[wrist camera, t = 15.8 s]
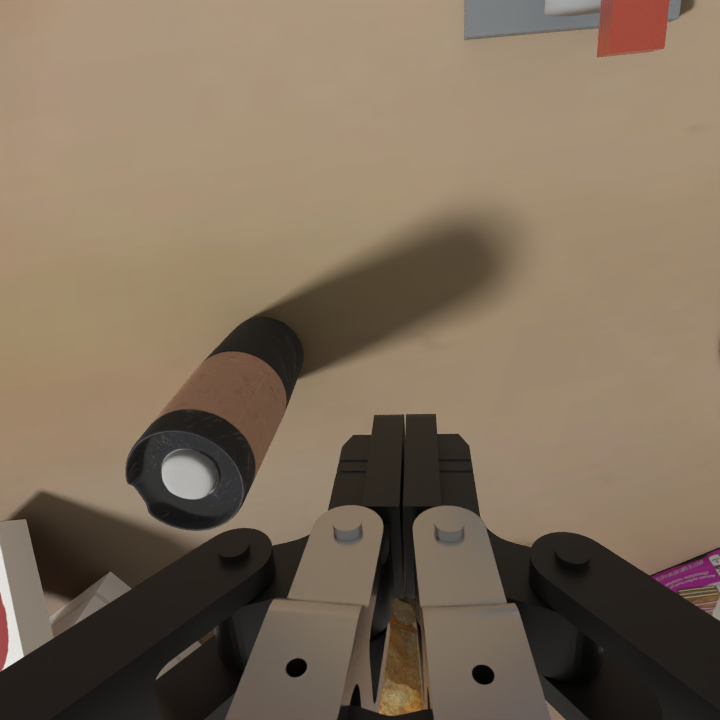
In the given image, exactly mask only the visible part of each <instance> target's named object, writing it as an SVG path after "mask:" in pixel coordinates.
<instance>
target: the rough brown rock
mask: <svg viewBox="0 0 720 720" xmlns="http://www.w3.org/2000/svg"><path fill="white" fill-rule="evenodd" d="M420 710H423V701H422V690H421V678H420V667H419V656H418V644H417V630H416V614H415V611H414V609H413V607H412V606H411V605H409V604H407V603H405V602H402V601H400V600H399V599H397V598H393V607H392V617H391V620H390V638H389V645H388V652H387V659H386V666H385V673H384V680H383V687H382V694H381V702H380V709H379V713H380V714H383V715H388V716H396V715H401V714H406V713H410V712H415V711H420Z"/></svg>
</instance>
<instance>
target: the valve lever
mask: <svg viewBox="0 0 720 720" xmlns="http://www.w3.org/2000/svg"><path fill="white" fill-rule="evenodd" d="M669 2H670V0H601V8H600V22H599V36H598V50H597V57H606V56H616V55H625V54H635V53H645V52H651V51H655V50H659V49H663V48H664V46H665V37H666V28H667V19H668V11H669Z"/></svg>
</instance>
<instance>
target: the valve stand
mask: <svg viewBox="0 0 720 720" xmlns="http://www.w3.org/2000/svg"><path fill="white" fill-rule="evenodd" d="M680 6H681V0H670V2H669V11H668V19H667V22H670V21H673V20H676V19H679V13H680ZM600 8H601V0H465V20H464V40H468V39H480V38H491V37H502V36H514V35H525V34H536V33H548V32H559V31H570V30H582V29H593V28H599V22H600Z"/></svg>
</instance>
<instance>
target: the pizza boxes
mask: <svg viewBox="0 0 720 720" xmlns="http://www.w3.org/2000/svg"><path fill="white" fill-rule="evenodd" d="M131 589H132V588H130V587H129V586H128V585H127V584H125V583H124V582H123V581H122V580H120V579H119V578H118V577H117V576H115V575H114V574H113V573H112V572H109V573H107V574H106V575H105V576H103V577H102V578H101V579H100V580H98V581H97V582H96V583H94V584H93V585H92V586H90V587H89V588H88V589H86V590H85V591H84V592H82V593H81V594H80V595H78V596H77V597H76V598H74V599H73V600H72V601H71V602H69V603H68V604H67V605H65V606H64V607H63V608H61V609H60V610H59V611H57V612H56V613H55V614H53V615H52V616H51V617H49V616H48V611H47V607H46V603H45V599H44V594H43V590H42V586H41V581H40V577H39V573H38V569H37V564H36V560H35V556H34V552H33V547H32V543H31V539H30V534H29V530H28V526H27V522H26V519H21V520H11V521H1V522H0V672H1V671H2V670H4V669H5V668H7V667H8V666H10V665H12V664H13V663H15V662H16V661H18V660H20V659H21V658H23V657H24V656H26V655H28V654H29V653H31V652H32V651H34V650H35V649H37V648H39V647H40V646H42V645H43V644H45V643H47V642H48V641H50V640H51V639H53V638H55V637H56V636H58V635H59V634H61V633H63V632H64V631H66V630H67V629H69V628H70V627H72V626H74V625H75V624H77V623H78V622H80V621H82V620H83V619H85V618H86V617H88V616H90V615H91V614H93V613H94V612H96V611H97V610H99V609H101V608H102V607H104V606H105V605H107V604H109V603H110V602H112V601H113V600H115V599H117V598H118V597H120V596H121V595H123V594H124V593H126V592H128V591H129V590H131ZM201 645H202V644H200V643H199V642H198V641H196V642H195V643H194V644H192V645H191V646H190V647H189V648H187V649H186V650H185V651H183V652H182V653H181V654H179V655H178V656H177V657H175V658H174V659H173V660H171V661H170V662H169V663H168V664H166V666H165V667H164V668H163V669H162V670H161V671H160V673H159V674H158V676H157V678H156V680H157V679H158V678H159V677H160V676H162V675H163V674H164V673H166V672H167V671H168V670H170V669H171V668H172V667H174V666H175V665H176V664H177V663H179V662H180V661H181V660H183V659H184V658H185V657H187V656H188V655H189V654H191V653H192V652H193V651H195V650H196V649H197V648H198V647H200V646H201Z"/></svg>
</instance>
